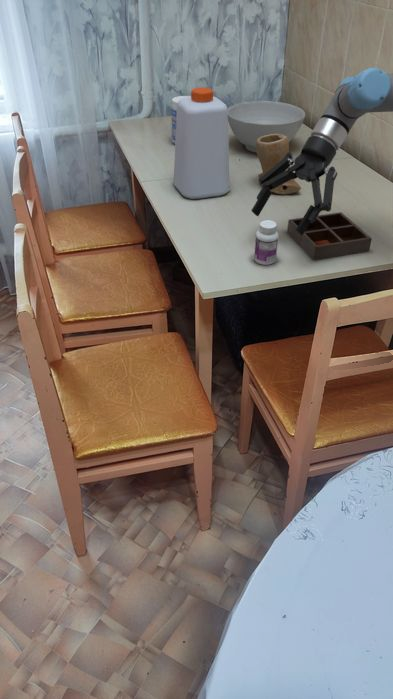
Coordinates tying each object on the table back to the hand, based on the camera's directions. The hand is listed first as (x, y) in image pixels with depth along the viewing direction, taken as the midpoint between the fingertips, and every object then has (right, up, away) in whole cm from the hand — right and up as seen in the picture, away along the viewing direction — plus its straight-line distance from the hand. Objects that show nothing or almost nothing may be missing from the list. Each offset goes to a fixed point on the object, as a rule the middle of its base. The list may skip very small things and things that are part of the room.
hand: (276, 223), depth 129 cm
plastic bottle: (-18, +19, +37) cm, 45 cm away
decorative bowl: (+5, +42, +65) cm, 77 cm away
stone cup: (+5, +20, +38) cm, 43 cm away
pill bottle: (-2, -8, +4) cm, 9 cm away
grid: (+15, -2, +11) cm, 19 cm away
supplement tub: (-23, +45, +68) cm, 85 cm away
